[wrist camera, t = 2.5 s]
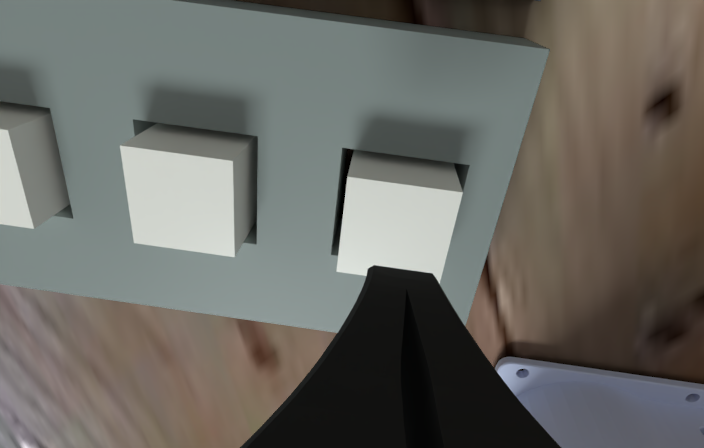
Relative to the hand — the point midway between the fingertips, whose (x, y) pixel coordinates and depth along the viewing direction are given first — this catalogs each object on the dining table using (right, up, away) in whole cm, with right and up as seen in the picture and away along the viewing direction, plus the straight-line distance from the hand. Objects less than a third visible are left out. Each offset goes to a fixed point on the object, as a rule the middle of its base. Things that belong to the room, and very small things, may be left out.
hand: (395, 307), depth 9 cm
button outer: (-11, +4, +5) cm, 13 cm away
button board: (-5, +4, +6) cm, 9 cm away
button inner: (0, +3, +5) cm, 6 cm away
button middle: (-5, +4, +5) cm, 8 cm away
